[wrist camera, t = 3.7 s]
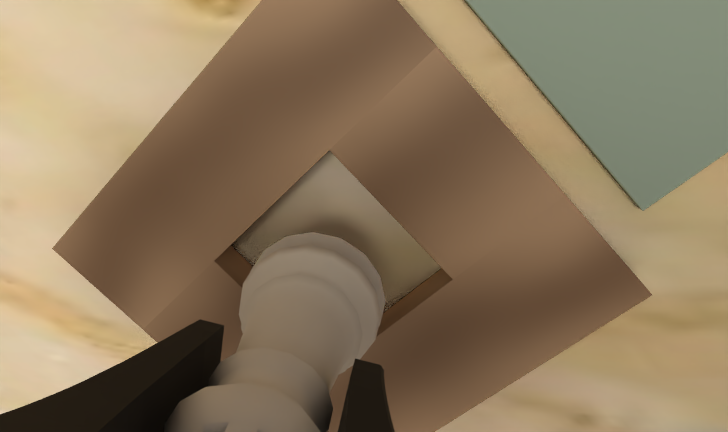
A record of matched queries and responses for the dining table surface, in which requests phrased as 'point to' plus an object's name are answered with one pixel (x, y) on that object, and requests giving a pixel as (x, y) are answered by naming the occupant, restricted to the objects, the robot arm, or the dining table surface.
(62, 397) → the robot arm
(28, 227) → the dining table surface
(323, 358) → the rook chess piece
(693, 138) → the rubber mat
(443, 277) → the socket board
